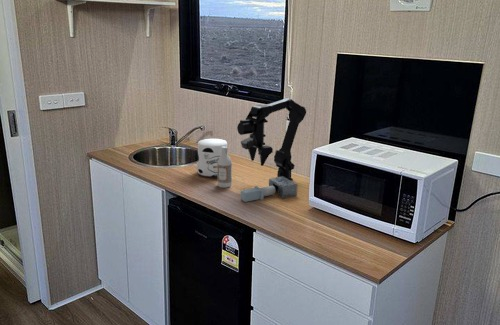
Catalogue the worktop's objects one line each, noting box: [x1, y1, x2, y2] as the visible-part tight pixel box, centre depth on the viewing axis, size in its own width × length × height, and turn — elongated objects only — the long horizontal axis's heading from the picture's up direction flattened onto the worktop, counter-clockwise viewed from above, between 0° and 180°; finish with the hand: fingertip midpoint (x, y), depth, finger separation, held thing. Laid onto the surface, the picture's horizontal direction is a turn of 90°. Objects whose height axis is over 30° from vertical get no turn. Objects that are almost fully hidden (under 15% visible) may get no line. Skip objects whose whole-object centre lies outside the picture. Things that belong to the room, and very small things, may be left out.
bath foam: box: [217, 145, 233, 189], centre depth 215 cm, size 7×7×20 cm
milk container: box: [196, 138, 228, 178], centre depth 231 cm, size 17×17×18 cm
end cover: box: [240, 185, 277, 203], centre depth 202 cm, size 16×6×5 cm, turn 120°
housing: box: [268, 176, 298, 199], centre depth 209 cm, size 8×12×6 cm, turn 30°
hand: (257, 163), depth 215 cm, fingers open, 9 cm apart
